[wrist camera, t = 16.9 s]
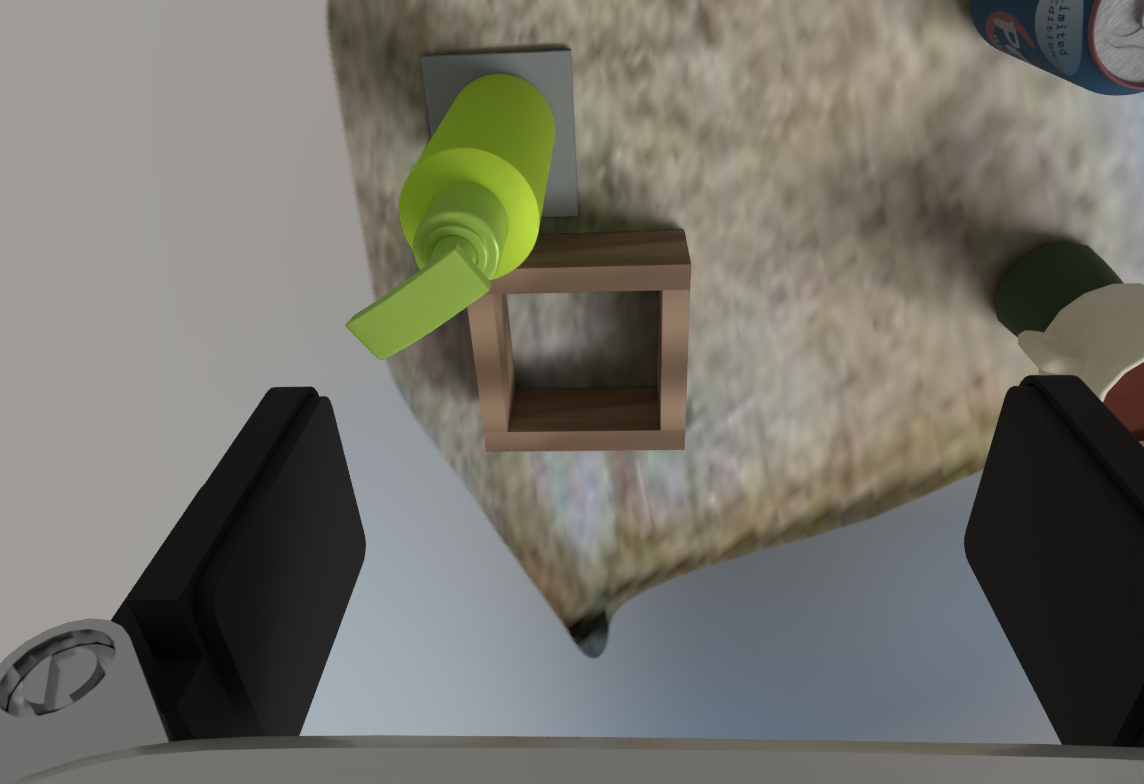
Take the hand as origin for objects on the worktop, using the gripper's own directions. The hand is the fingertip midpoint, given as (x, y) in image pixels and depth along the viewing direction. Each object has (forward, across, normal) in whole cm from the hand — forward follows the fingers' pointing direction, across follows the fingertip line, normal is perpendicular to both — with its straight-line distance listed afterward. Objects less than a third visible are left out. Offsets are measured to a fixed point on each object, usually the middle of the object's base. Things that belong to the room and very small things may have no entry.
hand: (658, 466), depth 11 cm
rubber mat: (+36, +7, +5) cm, 37 cm away
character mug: (+36, -25, +15) cm, 47 cm away
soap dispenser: (+36, +7, +5) cm, 37 cm away
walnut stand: (+36, +3, +17) cm, 40 cm away
